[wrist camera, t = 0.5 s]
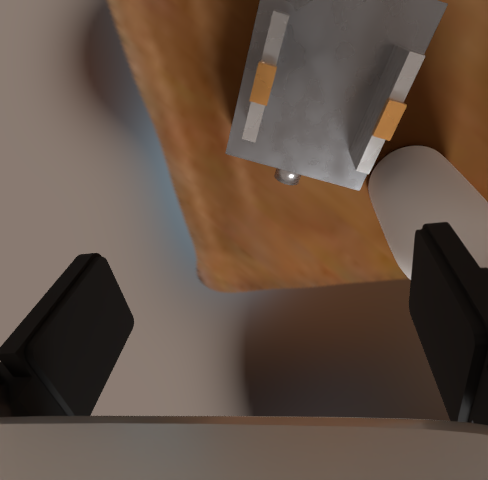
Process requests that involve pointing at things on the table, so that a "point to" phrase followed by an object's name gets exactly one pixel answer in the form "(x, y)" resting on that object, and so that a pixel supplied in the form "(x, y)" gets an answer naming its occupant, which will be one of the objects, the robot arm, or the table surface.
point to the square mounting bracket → (328, 84)
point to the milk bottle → (426, 202)
